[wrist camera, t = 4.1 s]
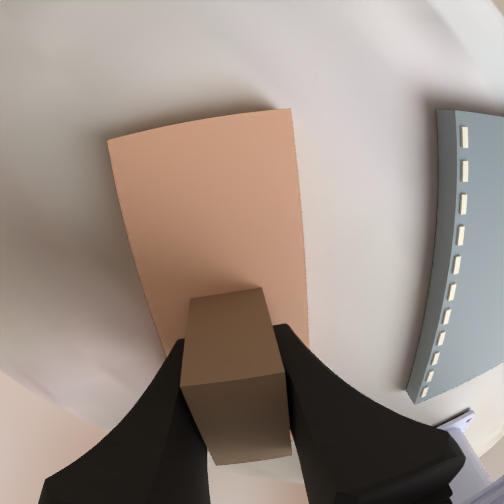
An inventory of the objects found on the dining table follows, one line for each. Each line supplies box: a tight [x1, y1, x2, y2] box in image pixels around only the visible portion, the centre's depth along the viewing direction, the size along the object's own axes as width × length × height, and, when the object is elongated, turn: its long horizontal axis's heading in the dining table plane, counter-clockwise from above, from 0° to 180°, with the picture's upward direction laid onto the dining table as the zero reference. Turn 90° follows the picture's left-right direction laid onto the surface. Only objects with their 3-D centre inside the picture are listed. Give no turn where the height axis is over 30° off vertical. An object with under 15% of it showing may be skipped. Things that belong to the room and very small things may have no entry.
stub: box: [107, 108, 309, 466], centre depth 10 cm, size 15×5×5 cm, turn 7°
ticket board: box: [406, 110, 504, 405], centre depth 12 cm, size 15×9×1 cm, turn 7°
